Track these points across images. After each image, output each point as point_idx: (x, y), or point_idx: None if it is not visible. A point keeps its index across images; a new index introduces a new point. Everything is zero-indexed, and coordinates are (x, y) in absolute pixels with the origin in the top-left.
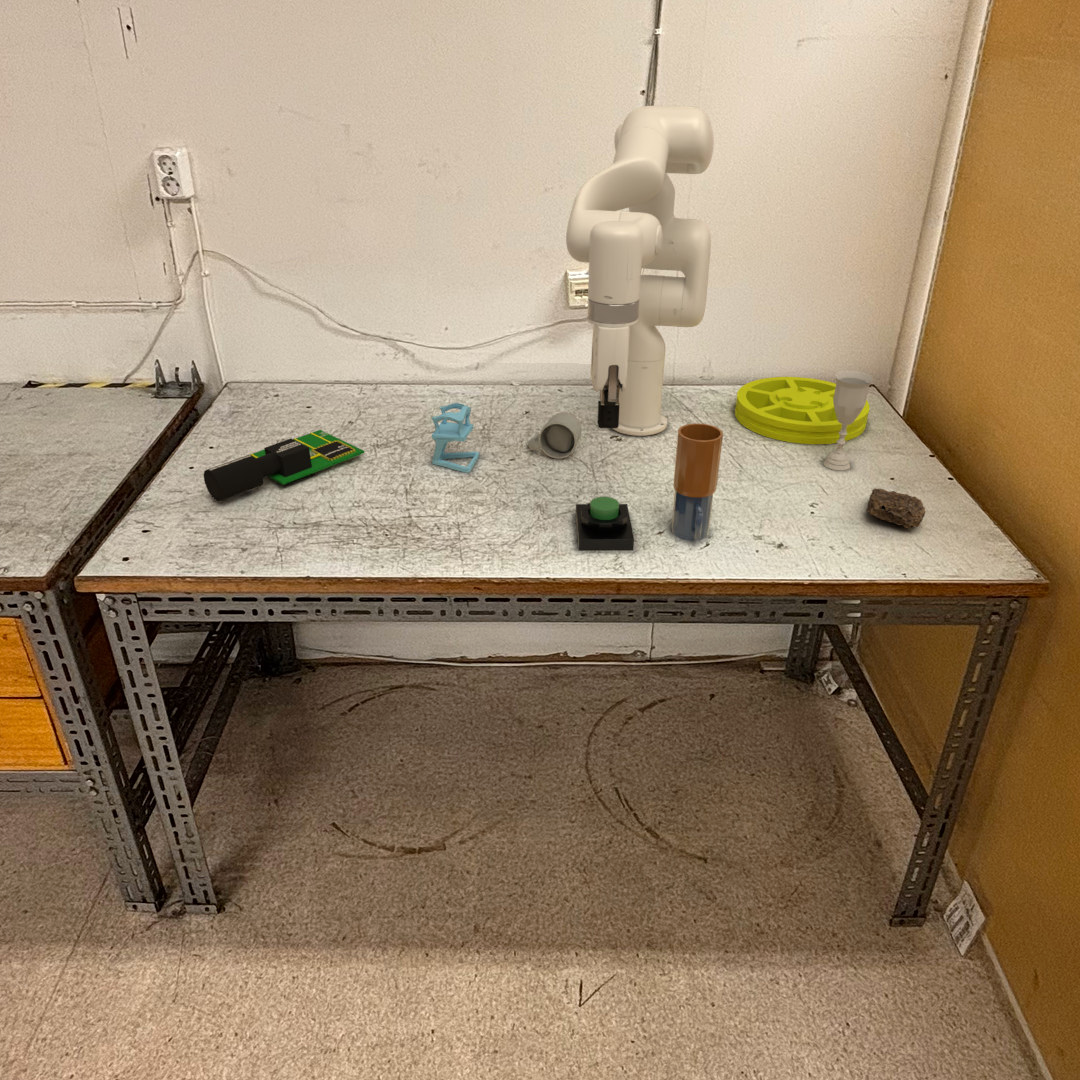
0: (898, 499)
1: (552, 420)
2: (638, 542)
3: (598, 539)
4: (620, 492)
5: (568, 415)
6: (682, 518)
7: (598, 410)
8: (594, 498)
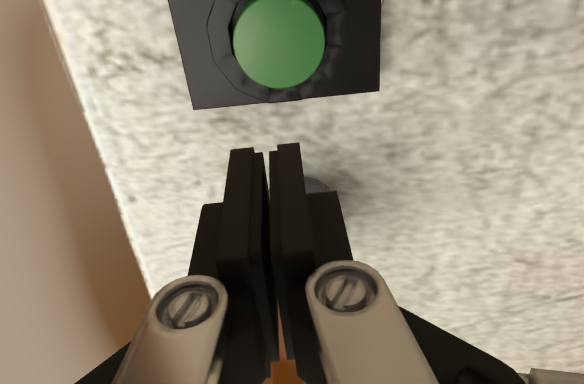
0: None
1: None
2: (240, 108)
3: (172, 15)
4: (498, 61)
5: None
6: None
7: (280, 202)
8: (310, 8)
